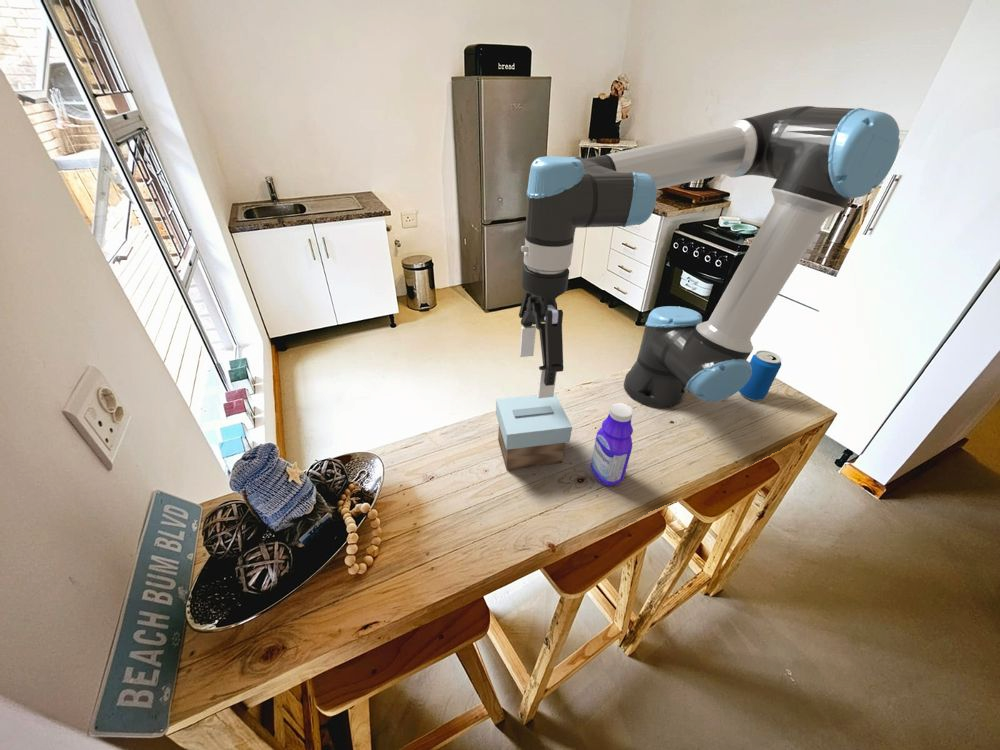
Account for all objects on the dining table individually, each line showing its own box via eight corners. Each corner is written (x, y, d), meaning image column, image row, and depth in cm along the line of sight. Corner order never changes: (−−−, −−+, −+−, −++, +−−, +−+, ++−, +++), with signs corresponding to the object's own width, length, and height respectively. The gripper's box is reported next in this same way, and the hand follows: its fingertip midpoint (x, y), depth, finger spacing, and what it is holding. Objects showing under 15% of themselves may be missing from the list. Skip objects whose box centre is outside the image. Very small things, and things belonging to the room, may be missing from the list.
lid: (553, 407, 92) (555, 391, 89) (569, 441, 83) (572, 425, 80) (495, 413, 89) (496, 397, 87) (506, 449, 81) (507, 433, 78)
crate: (549, 433, 95) (552, 410, 91) (561, 462, 88) (565, 438, 84) (498, 439, 93) (499, 416, 89) (506, 470, 86) (507, 445, 82)
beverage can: (769, 402, 107) (789, 364, 100) (744, 402, 106) (762, 363, 100) (756, 387, 112) (774, 350, 105) (732, 387, 112) (749, 349, 105)
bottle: (584, 466, 87) (597, 401, 77) (606, 458, 89) (622, 394, 79) (604, 492, 82) (621, 426, 72) (627, 483, 84) (647, 418, 74)
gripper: (507, 242, 76) (502, 342, 88) (545, 300, 56) (533, 419, 68) (546, 241, 77) (536, 340, 89) (598, 297, 57) (576, 414, 69)
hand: (535, 374), depth 78 cm, fingers open, 13 cm apart
